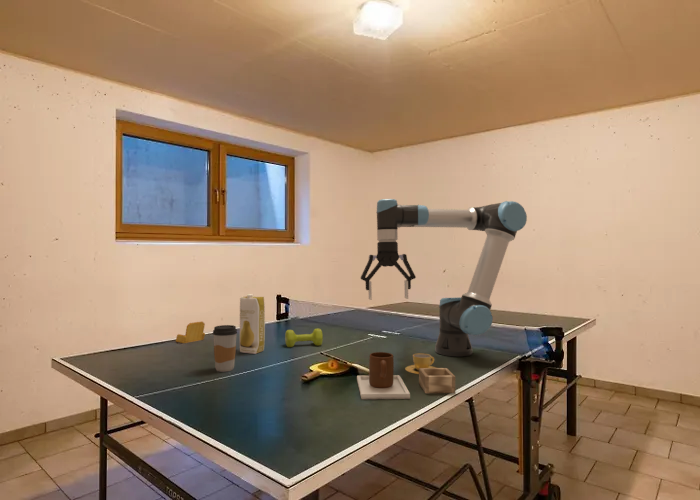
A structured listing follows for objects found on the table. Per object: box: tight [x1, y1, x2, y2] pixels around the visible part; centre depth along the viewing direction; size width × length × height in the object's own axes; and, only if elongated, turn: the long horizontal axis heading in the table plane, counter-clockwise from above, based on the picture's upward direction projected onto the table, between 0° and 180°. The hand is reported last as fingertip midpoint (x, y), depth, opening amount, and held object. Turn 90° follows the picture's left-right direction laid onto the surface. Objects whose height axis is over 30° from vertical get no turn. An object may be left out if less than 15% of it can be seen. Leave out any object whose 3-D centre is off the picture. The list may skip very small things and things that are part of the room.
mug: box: [368, 351, 395, 388], centre depth 131 cm, size 12×8×9 cm, turn 1°
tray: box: [356, 374, 411, 400], centre depth 131 cm, size 14×18×2 cm
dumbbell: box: [284, 328, 324, 348], centre depth 190 cm, size 16×8×7 cm, turn 105°
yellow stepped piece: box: [175, 321, 206, 344], centre depth 198 cm, size 10×10×9 cm
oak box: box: [418, 367, 456, 394], centre depth 132 cm, size 9×9×5 cm
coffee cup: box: [212, 324, 238, 373], centre depth 151 cm, size 8×8×15 cm
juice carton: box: [239, 293, 266, 355], centre depth 178 cm, size 9×8×24 cm
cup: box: [404, 353, 437, 375], centre depth 152 cm, size 12×12×5 cm
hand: (388, 298), depth 158 cm, fingers open, 13 cm apart
